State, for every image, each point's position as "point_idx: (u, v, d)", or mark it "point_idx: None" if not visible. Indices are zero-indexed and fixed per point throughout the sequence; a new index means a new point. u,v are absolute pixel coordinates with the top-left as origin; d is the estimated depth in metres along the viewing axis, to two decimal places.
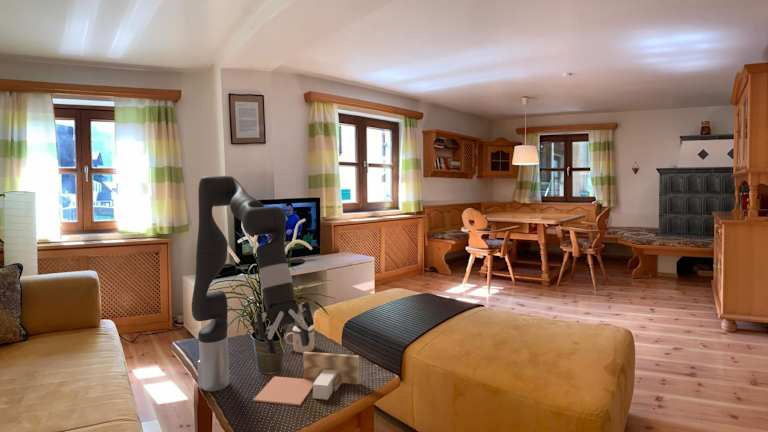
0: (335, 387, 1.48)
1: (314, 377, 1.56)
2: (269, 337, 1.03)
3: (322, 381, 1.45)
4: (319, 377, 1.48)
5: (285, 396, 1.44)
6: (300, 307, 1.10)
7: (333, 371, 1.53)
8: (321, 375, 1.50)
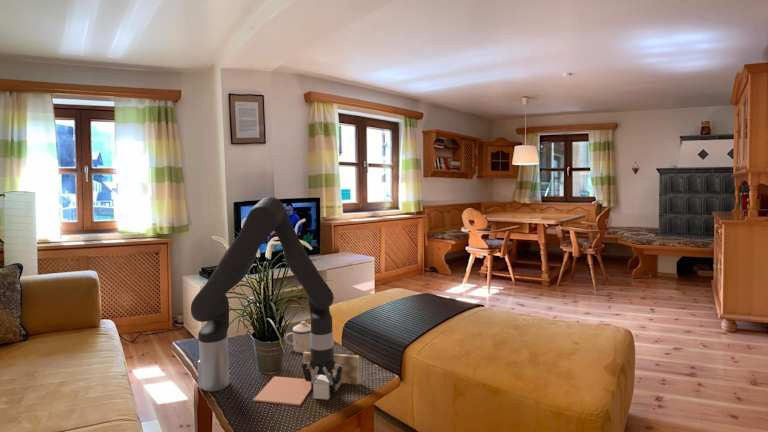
0: (335, 387, 1.48)
1: None
2: None
3: (322, 381, 1.45)
4: (319, 377, 1.48)
5: (285, 396, 1.44)
6: None
7: (332, 370, 1.53)
8: (321, 375, 1.50)
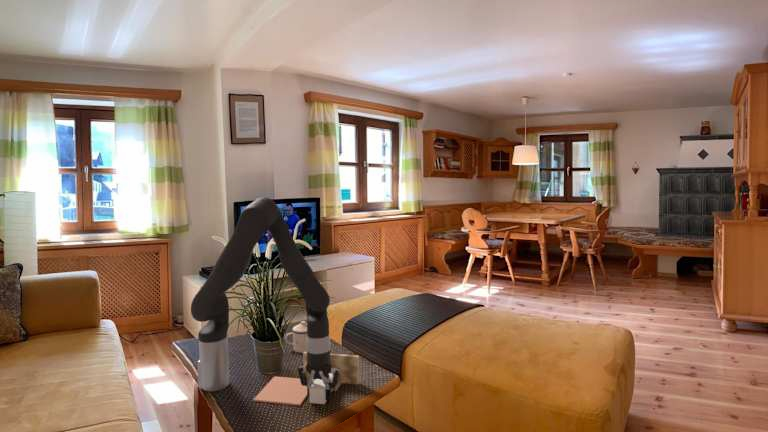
0: (335, 387, 1.48)
1: None
2: None
3: (319, 385, 1.42)
4: (315, 381, 1.45)
5: (285, 396, 1.44)
6: None
7: (330, 374, 1.49)
8: None
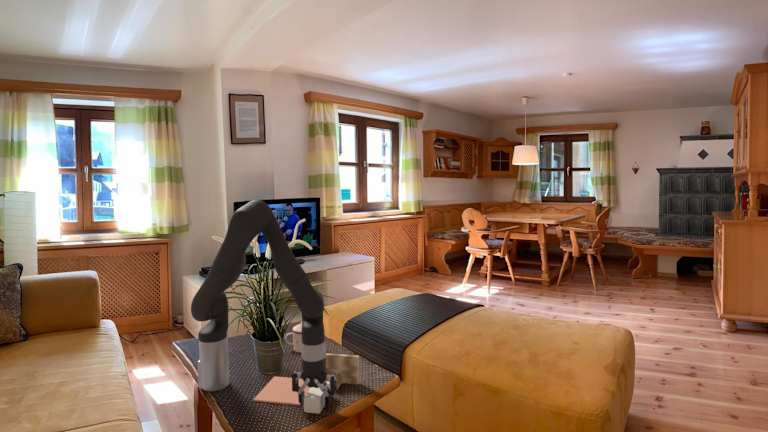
0: None
1: None
2: None
3: (314, 394, 1.37)
4: (311, 389, 1.40)
5: (285, 396, 1.44)
6: None
7: None
8: (313, 387, 1.42)
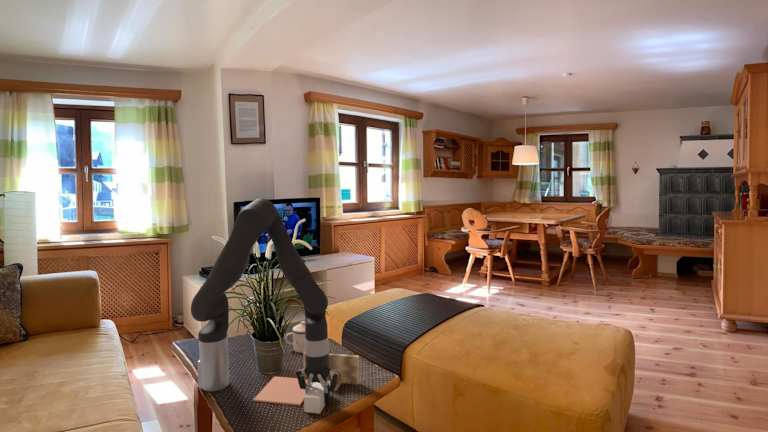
0: None
1: None
2: None
3: (314, 393, 1.37)
4: (311, 389, 1.40)
5: (285, 396, 1.44)
6: None
7: None
8: (313, 386, 1.42)
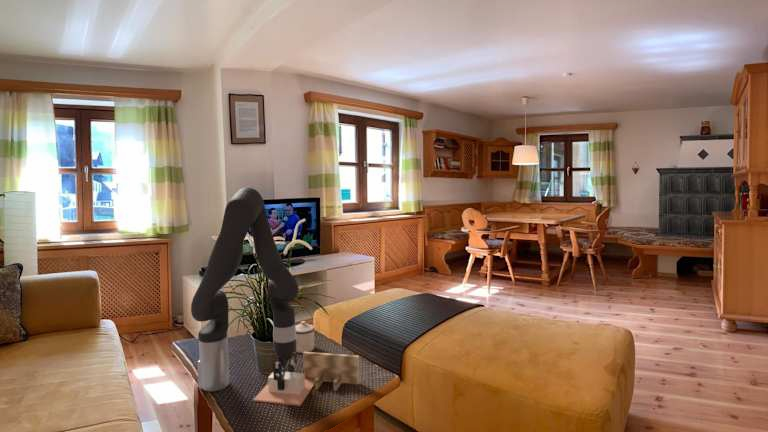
0: (335, 387, 1.48)
1: (314, 377, 1.56)
2: None
3: (295, 376, 1.47)
4: (285, 378, 1.46)
5: (285, 396, 1.44)
6: None
7: None
8: None
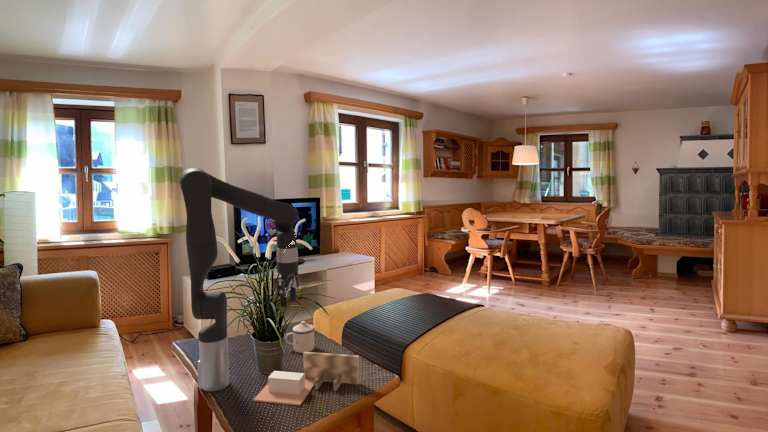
0: (335, 387, 1.48)
1: (314, 377, 1.56)
2: None
3: (295, 376, 1.47)
4: (285, 378, 1.46)
5: (285, 396, 1.44)
6: None
7: (275, 372, 1.50)
8: (281, 377, 1.47)
